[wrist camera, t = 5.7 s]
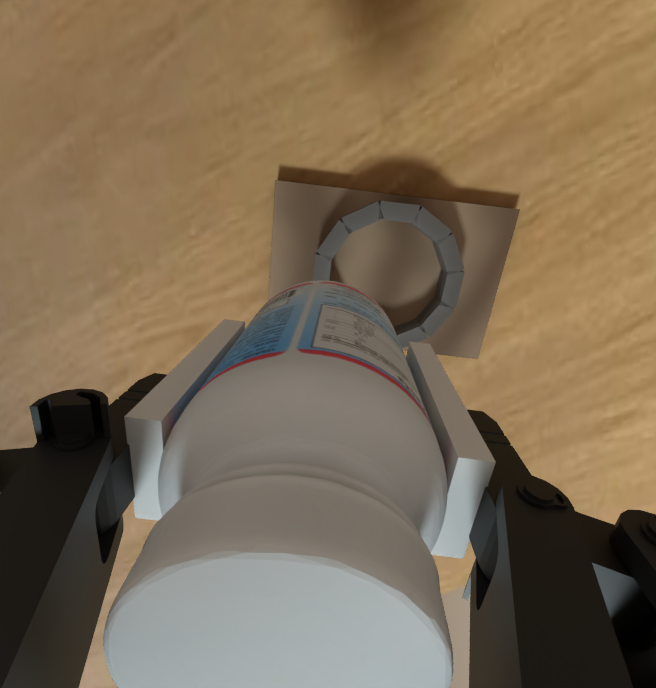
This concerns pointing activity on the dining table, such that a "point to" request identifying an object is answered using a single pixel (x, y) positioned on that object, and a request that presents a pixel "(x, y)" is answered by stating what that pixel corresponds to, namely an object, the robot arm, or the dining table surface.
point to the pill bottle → (294, 516)
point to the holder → (397, 257)
